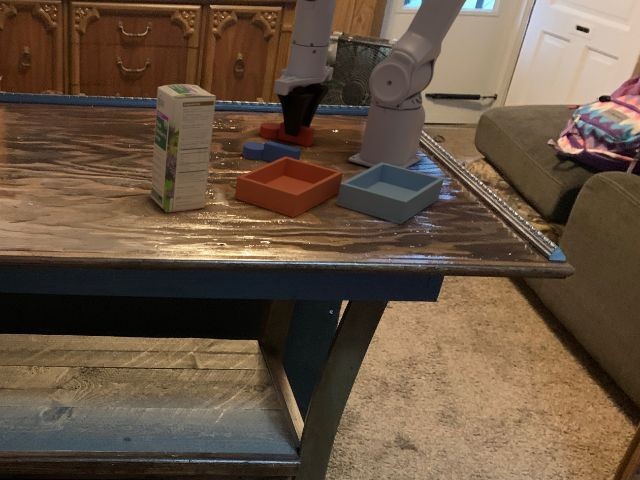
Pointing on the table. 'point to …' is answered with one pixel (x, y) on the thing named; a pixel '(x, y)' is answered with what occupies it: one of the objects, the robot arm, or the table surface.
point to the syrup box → (182, 146)
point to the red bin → (288, 186)
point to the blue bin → (389, 192)
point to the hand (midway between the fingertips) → (296, 133)
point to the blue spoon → (269, 151)
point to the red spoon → (278, 132)
